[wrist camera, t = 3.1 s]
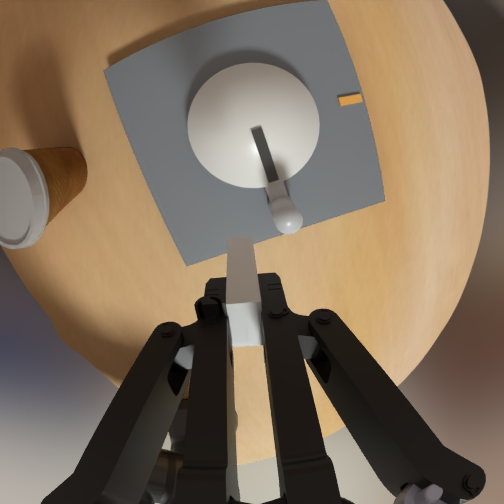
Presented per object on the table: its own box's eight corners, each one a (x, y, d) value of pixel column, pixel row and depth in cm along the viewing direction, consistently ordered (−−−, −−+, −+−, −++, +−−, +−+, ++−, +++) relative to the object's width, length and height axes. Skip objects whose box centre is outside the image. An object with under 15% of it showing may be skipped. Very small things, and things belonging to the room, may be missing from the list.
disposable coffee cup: (38, 139, 23) (-29, 159, 13) (98, 129, 24) (32, 143, 14) (44, 210, 28) (-13, 251, 17) (101, 209, 29) (48, 257, 18)
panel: (188, 258, 32) (186, 267, 30) (110, 72, 22) (102, 70, 20) (377, 195, 30) (386, 201, 28) (321, 5, 19) (327, -2, 17)
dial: (172, 91, 22) (159, 85, 17) (293, 53, 21) (306, 39, 16) (229, 235, 29) (229, 257, 24) (336, 199, 28) (355, 216, 23)
